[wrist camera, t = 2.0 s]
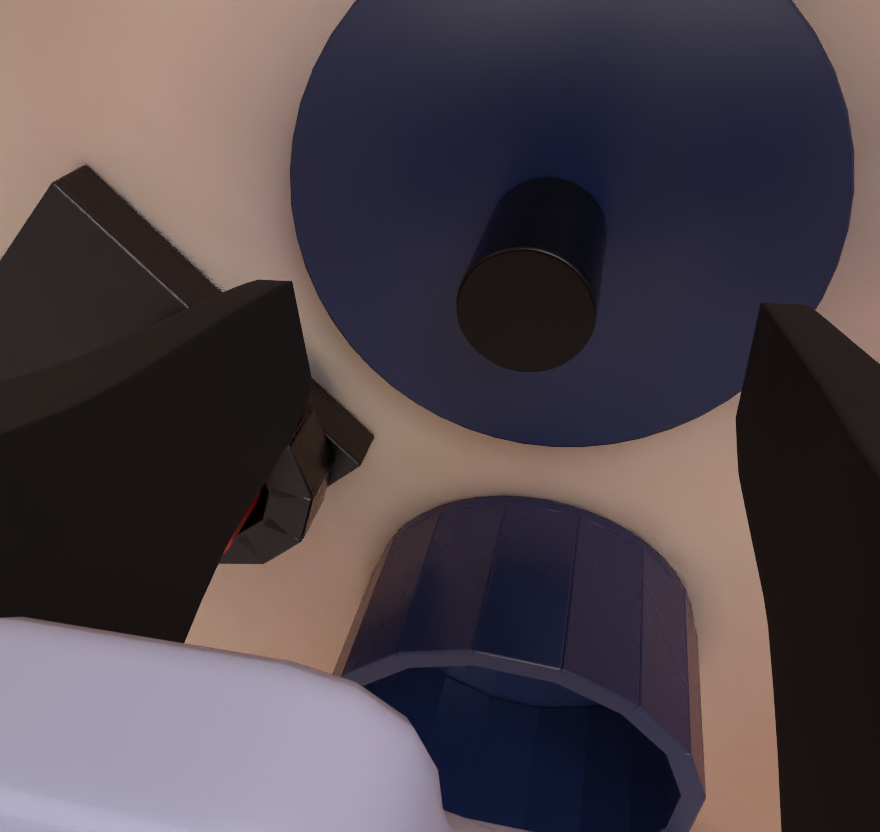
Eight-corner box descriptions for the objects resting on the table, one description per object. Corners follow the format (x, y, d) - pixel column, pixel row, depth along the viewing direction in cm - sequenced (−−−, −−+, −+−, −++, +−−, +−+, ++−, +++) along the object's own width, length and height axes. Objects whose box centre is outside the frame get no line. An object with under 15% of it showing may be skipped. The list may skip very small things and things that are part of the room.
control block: (-32, 332, 22) (-112, 388, 20) (94, 151, 18) (8, 196, 15) (228, 542, 26) (185, 612, 23) (392, 435, 21) (358, 508, 19)
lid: (612, -289, 11) (592, -354, 8) (951, 256, 15) (1044, 382, 11) (215, 177, 17) (103, 258, 14) (521, 483, 21) (493, 610, 17)
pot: (553, 441, 20) (525, 600, 15) (759, 658, 23) (783, 839, 19) (318, 570, 25) (250, 713, 21) (510, 731, 28) (485, 882, 24)
